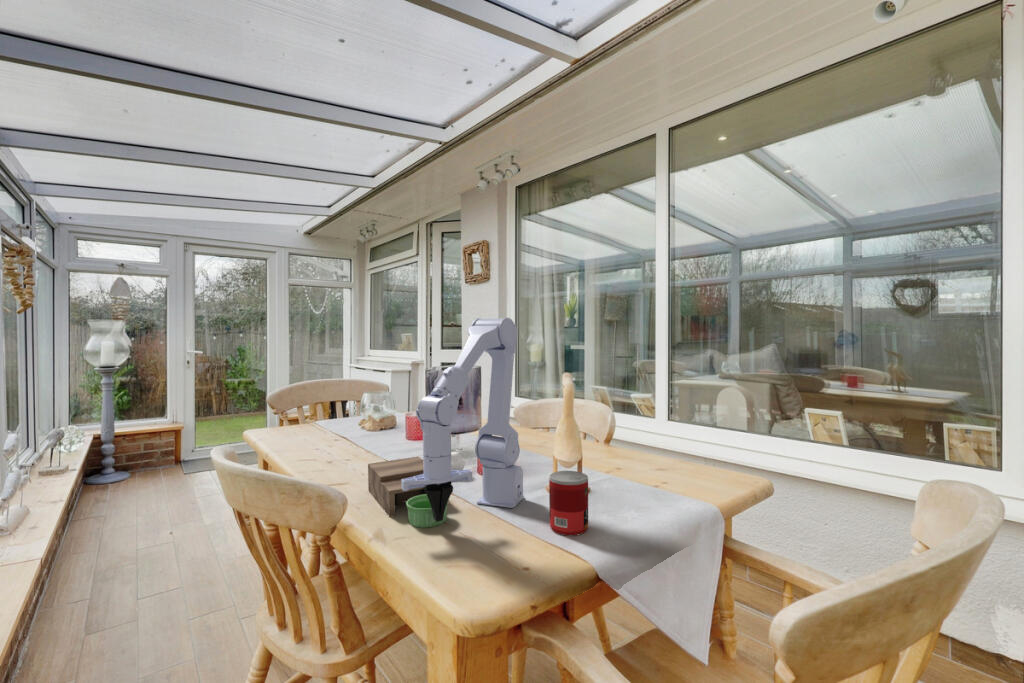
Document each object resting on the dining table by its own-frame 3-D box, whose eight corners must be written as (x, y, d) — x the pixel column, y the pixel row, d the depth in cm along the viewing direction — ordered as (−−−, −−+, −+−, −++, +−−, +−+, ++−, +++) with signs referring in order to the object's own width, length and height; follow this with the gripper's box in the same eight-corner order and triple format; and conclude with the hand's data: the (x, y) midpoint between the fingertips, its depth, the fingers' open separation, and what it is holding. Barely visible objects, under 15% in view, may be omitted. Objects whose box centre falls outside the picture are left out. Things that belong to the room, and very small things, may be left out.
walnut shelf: (446, 505, 113) (445, 476, 112) (389, 517, 106) (389, 485, 106) (418, 482, 130) (418, 456, 130) (368, 490, 123) (368, 463, 123)
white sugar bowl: (467, 472, 138) (466, 448, 138) (462, 479, 132) (462, 454, 132) (446, 472, 139) (446, 448, 138) (440, 478, 133) (440, 453, 132)
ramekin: (455, 515, 107) (455, 496, 107) (435, 531, 98) (435, 510, 98) (420, 510, 110) (420, 491, 110) (398, 526, 101) (398, 505, 101)
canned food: (593, 534, 96) (593, 480, 96) (554, 537, 95) (554, 483, 95) (581, 519, 104) (581, 469, 103) (545, 522, 102) (545, 471, 102)
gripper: (464, 445, 105) (464, 506, 105) (397, 453, 99) (398, 518, 99) (475, 453, 98) (476, 518, 99) (405, 462, 92) (406, 531, 93)
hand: (438, 519), depth 98 cm, fingers closed
